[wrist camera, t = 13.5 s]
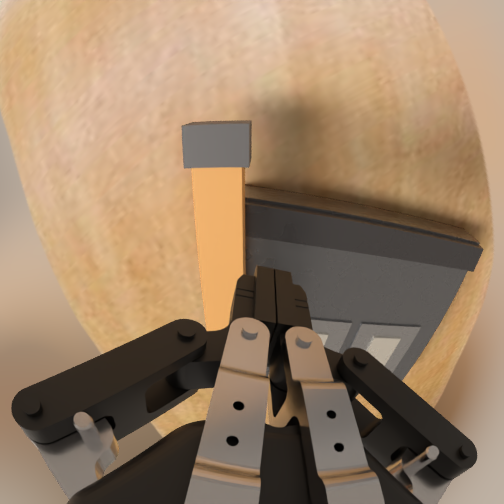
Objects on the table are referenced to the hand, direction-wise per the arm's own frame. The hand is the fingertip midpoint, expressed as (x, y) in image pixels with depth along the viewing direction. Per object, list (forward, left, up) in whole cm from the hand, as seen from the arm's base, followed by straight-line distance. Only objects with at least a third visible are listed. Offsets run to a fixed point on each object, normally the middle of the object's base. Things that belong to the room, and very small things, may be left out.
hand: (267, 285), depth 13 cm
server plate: (-9, -9, -12) cm, 18 cm away
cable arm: (-4, +2, -8) cm, 9 cm away
